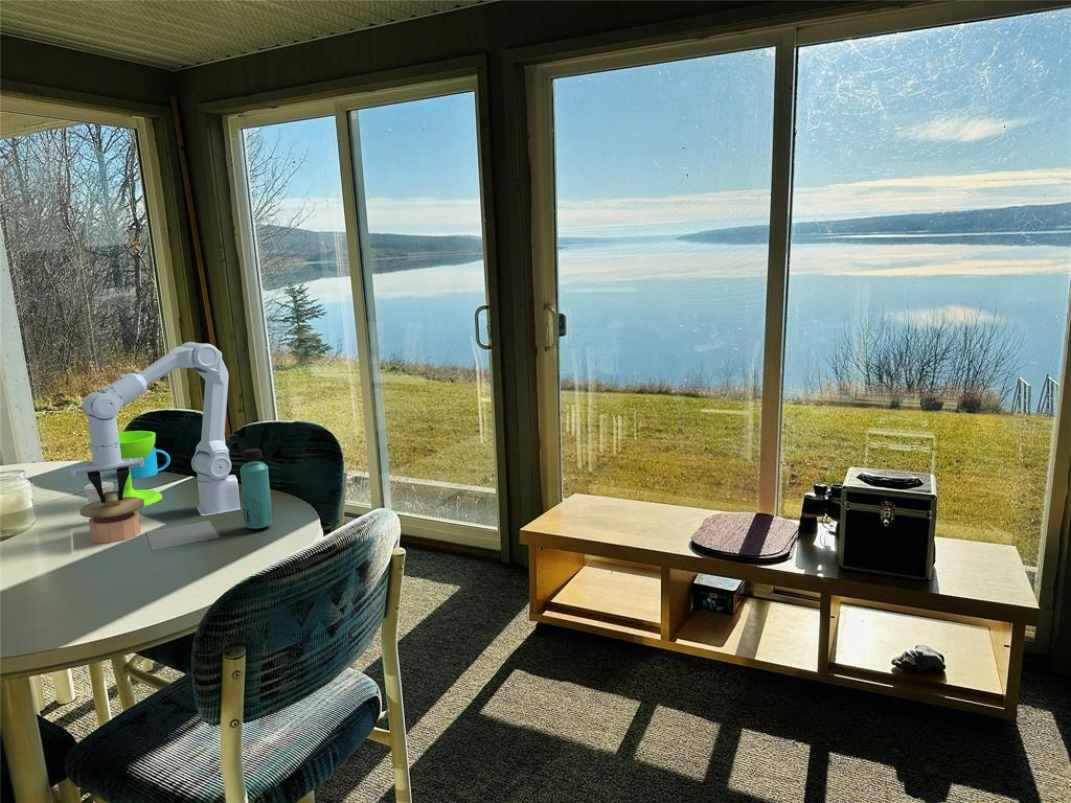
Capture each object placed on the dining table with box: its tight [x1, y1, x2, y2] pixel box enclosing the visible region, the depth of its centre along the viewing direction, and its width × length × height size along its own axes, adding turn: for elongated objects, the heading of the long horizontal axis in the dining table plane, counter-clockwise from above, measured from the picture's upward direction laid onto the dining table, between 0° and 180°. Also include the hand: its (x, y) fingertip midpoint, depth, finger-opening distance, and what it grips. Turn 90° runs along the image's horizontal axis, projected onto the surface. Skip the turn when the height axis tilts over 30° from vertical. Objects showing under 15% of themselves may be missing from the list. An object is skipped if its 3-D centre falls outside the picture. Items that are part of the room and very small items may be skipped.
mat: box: [145, 520, 221, 551], centre depth 167 cm, size 14×14×1 cm
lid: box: [79, 490, 145, 519], centre depth 166 cm, size 13×13×4 cm
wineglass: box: [87, 430, 163, 507], centre depth 193 cm, size 16×16×18 cm
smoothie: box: [83, 472, 115, 504], centre depth 177 cm, size 6×6×14 cm
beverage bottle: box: [239, 448, 274, 529], centre depth 169 cm, size 6×7×20 cm
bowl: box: [88, 510, 142, 544], centre depth 167 cm, size 10×10×5 cm
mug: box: [130, 446, 171, 479], centre depth 222 cm, size 12×8×8 cm
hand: (112, 500), depth 166 cm, fingers closed on lid, 3 cm apart
